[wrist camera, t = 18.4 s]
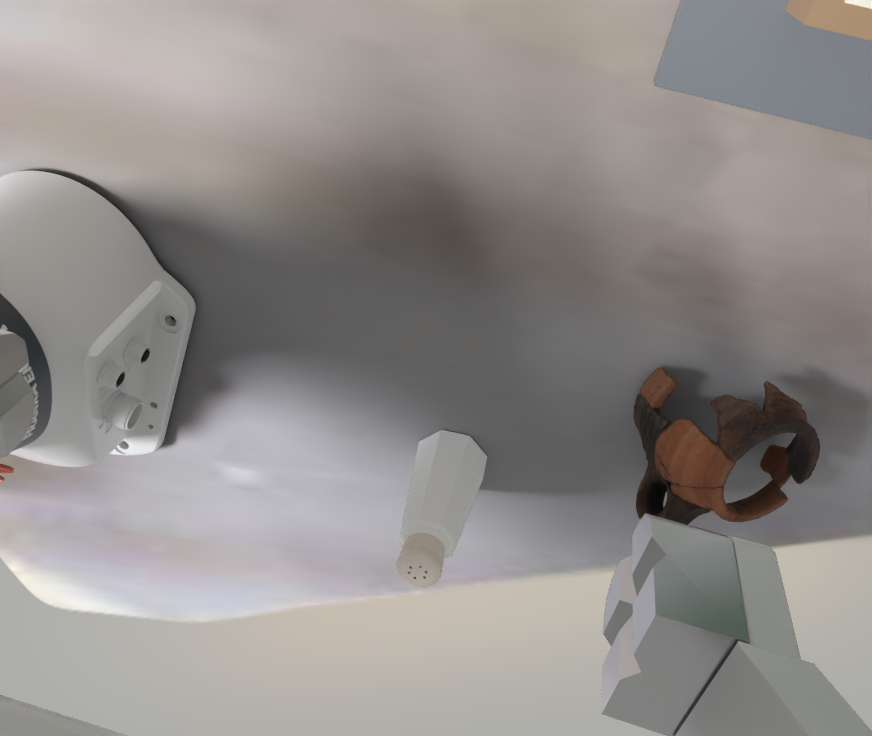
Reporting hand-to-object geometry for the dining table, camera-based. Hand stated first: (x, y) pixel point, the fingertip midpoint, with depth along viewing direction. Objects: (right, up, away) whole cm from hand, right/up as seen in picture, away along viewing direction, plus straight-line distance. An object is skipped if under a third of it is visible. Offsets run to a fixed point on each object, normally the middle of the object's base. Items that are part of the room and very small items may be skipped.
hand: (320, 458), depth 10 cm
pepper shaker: (+3, -5, +45) cm, 46 cm away
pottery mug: (+17, -2, +41) cm, 44 cm away
